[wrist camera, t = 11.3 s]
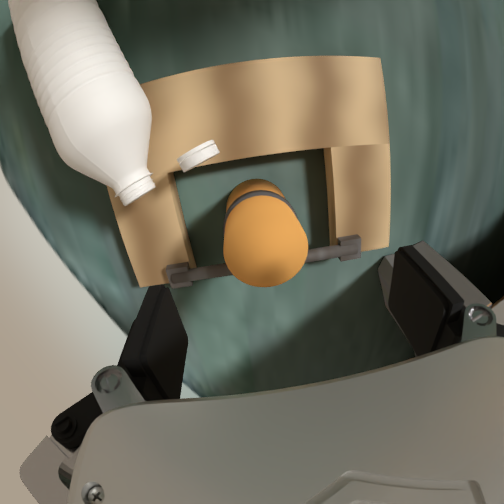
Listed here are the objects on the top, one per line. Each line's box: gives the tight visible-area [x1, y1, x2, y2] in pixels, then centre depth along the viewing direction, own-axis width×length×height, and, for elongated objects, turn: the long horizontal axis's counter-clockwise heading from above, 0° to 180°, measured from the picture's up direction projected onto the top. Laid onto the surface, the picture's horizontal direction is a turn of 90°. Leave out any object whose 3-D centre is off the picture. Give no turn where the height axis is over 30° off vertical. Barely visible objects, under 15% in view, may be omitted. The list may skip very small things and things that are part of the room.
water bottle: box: [8, 0, 220, 206], centre depth 13 cm, size 9×6×25 cm
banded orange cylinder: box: [223, 179, 308, 287], centre depth 20 cm, size 5×5×8 cm
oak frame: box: [107, 56, 391, 289], centre depth 21 cm, size 22×16×3 cm
